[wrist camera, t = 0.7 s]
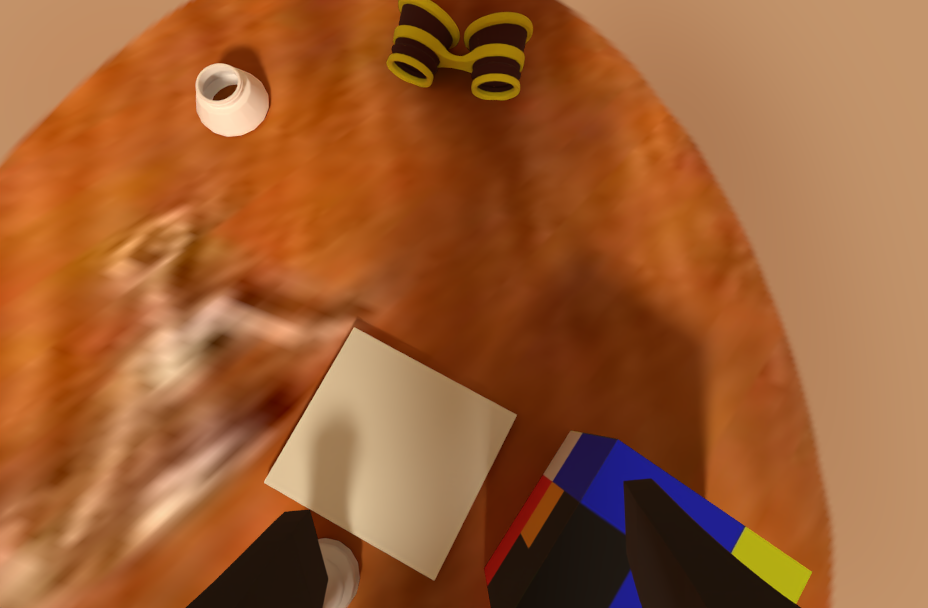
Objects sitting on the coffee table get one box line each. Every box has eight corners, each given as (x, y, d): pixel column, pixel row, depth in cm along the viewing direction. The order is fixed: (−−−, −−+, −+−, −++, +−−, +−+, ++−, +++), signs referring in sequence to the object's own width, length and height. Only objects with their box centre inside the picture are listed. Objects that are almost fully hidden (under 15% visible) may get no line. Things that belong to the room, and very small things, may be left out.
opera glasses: (390, 88, 39) (377, 56, 34) (404, 20, 39) (394, -22, 34) (515, 113, 39) (521, 84, 34) (530, 44, 39) (538, 6, 34)
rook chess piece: (301, 627, 31) (248, 702, 23) (278, 553, 32) (219, 600, 24) (371, 597, 31) (343, 660, 23) (347, 524, 32) (312, 561, 24)
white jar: (285, 103, 38) (235, 65, 39) (270, 78, 35) (217, 37, 36) (237, 152, 37) (187, 112, 38) (218, 130, 34) (165, 87, 35)
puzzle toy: (570, 430, 34) (617, 438, 24) (704, 522, 32) (812, 571, 23) (484, 568, 32) (496, 639, 22) (623, 670, 31) (701, 792, 21)
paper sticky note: (434, 577, 32) (434, 581, 31) (267, 481, 32) (263, 482, 32) (516, 414, 34) (517, 414, 33) (356, 328, 34) (354, 327, 34)
